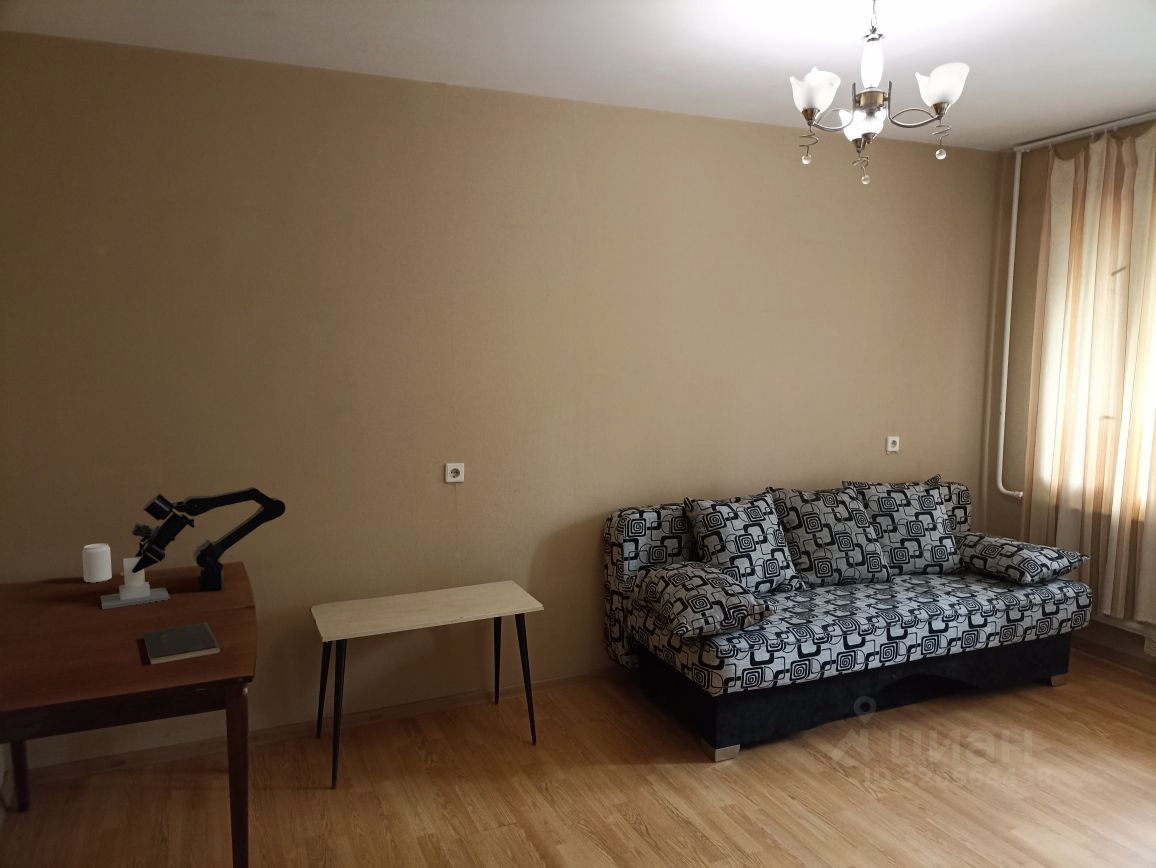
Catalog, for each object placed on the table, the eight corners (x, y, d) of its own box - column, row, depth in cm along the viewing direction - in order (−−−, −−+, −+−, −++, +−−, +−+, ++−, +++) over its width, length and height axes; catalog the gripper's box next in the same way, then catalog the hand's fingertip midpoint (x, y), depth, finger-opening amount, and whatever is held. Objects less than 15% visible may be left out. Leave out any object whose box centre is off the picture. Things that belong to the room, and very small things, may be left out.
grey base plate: (165, 590, 263) (164, 576, 263) (169, 599, 252) (169, 585, 252) (100, 599, 254) (99, 584, 253) (102, 609, 243) (101, 594, 242)
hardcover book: (149, 667, 196) (149, 658, 196) (142, 640, 216) (142, 632, 215) (221, 654, 205) (221, 645, 204) (208, 630, 224) (208, 621, 224)
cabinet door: (145, 594, 255) (143, 556, 254) (145, 595, 253) (143, 557, 252) (121, 597, 252) (119, 559, 251) (121, 598, 250) (119, 560, 249)
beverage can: (116, 579, 278) (114, 544, 277) (92, 584, 271) (90, 549, 270) (103, 576, 282) (101, 542, 281) (79, 581, 275) (77, 546, 274)
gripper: (145, 509, 261) (108, 547, 256) (150, 518, 245) (110, 559, 240) (174, 531, 266) (138, 569, 261) (181, 541, 250) (142, 581, 245)
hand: (131, 569), depth 252 cm, fingers open, 9 cm apart
